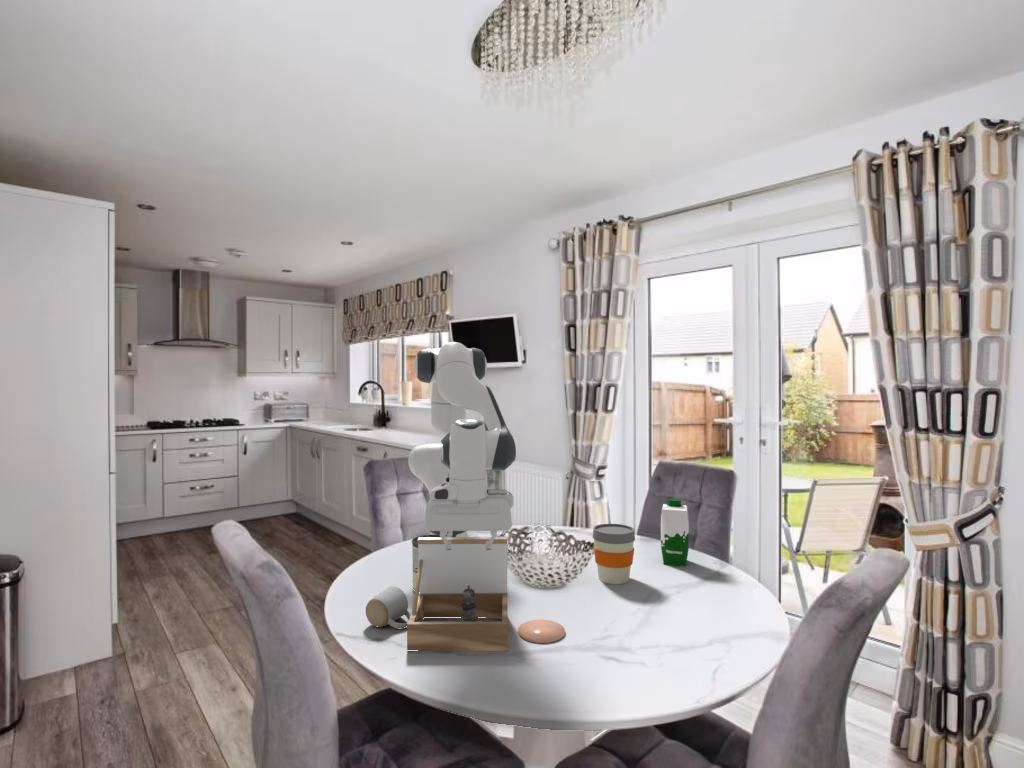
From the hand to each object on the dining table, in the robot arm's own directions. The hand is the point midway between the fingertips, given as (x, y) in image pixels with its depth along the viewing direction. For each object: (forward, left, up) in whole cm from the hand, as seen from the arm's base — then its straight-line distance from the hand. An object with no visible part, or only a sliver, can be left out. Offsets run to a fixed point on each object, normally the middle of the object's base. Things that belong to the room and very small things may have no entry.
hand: (468, 549), depth 127 cm
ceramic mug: (-8, -20, -21) cm, 29 cm away
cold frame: (-2, -2, -20) cm, 20 cm away
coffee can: (-30, -13, -21) cm, 39 cm away
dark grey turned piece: (0, 0, -20) cm, 20 cm away
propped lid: (-5, -2, -15) cm, 16 cm away
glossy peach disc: (-2, +17, -20) cm, 26 cm away
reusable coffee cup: (-37, +41, -21) cm, 59 cm away
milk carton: (-52, +64, -20) cm, 85 cm away
